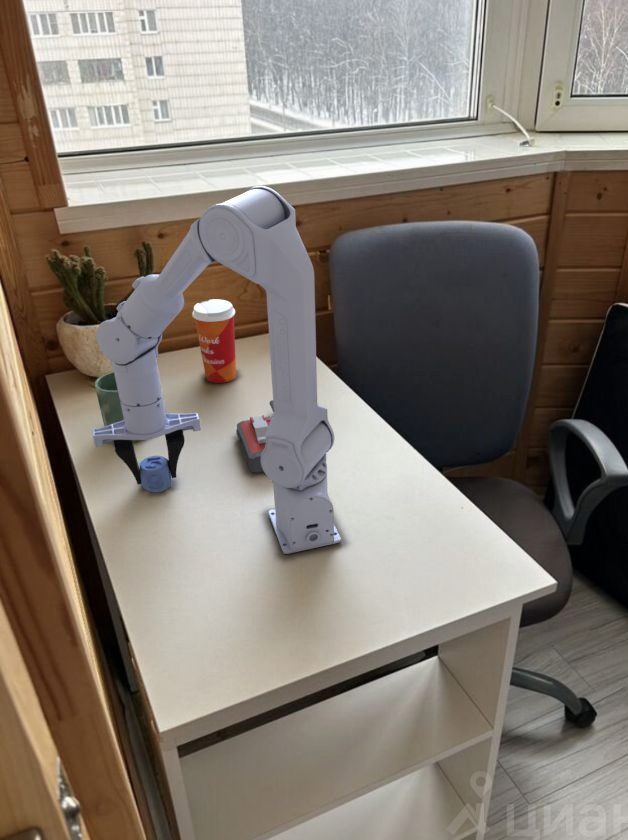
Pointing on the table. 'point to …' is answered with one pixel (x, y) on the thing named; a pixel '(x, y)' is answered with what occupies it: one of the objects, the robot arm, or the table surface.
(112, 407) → the pencil cup
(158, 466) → the decorative dice
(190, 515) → the table surface
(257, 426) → the walkie-talkie
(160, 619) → the table surface
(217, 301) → the paper cup
